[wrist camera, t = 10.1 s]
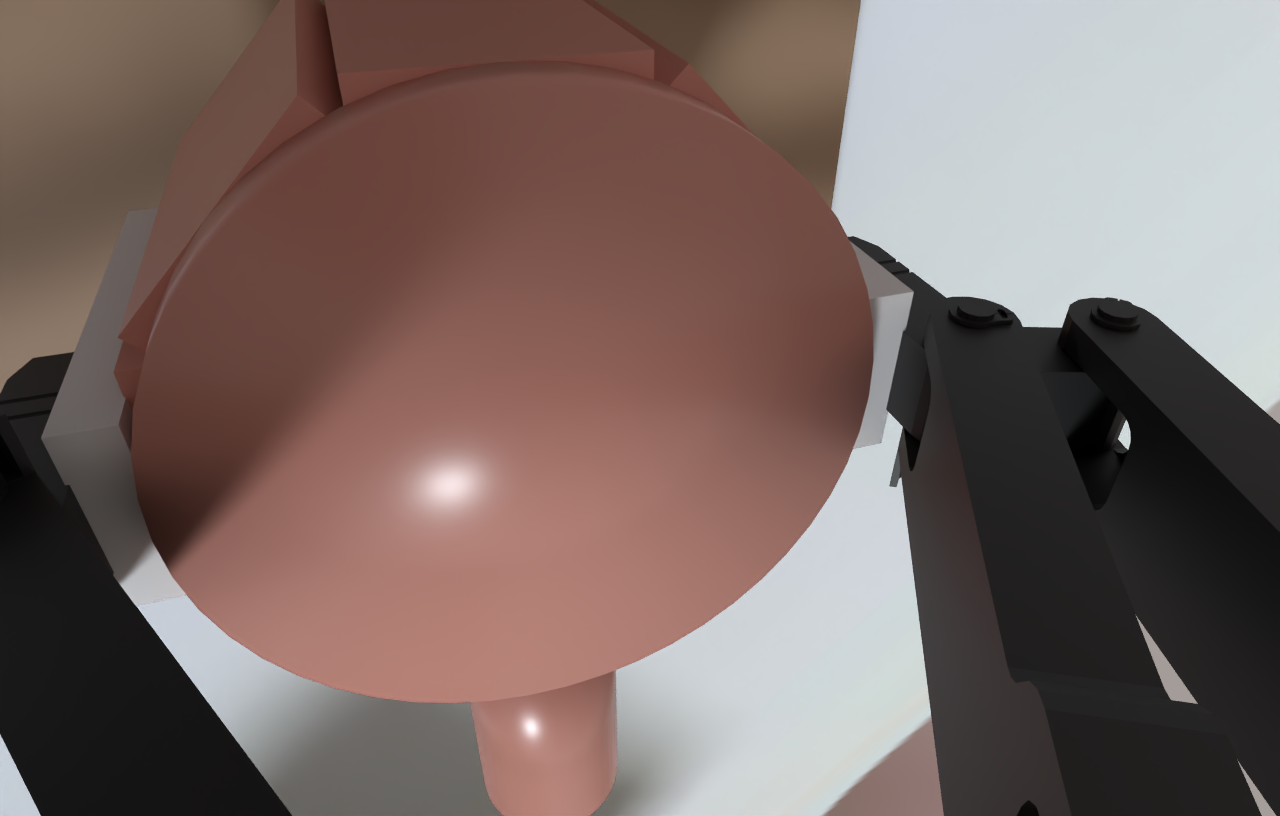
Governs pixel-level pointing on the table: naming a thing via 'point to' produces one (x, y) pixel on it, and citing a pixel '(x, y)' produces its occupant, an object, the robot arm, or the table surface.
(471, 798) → the table surface
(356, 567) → the cap
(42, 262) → the base
